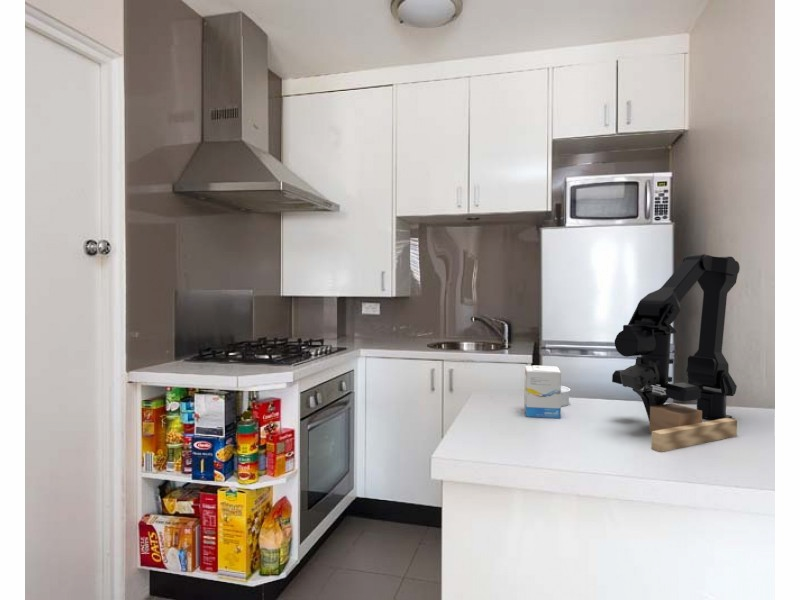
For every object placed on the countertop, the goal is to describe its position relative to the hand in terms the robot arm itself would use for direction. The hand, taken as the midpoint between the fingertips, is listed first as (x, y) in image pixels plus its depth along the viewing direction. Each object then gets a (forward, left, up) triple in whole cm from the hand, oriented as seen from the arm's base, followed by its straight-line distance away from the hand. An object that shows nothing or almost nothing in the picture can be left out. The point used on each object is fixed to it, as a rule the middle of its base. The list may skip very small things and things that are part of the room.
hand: (651, 421), depth 110 cm
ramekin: (+4, -28, -2) cm, 28 cm away
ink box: (+14, -21, -2) cm, 25 cm away
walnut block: (0, +6, -2) cm, 6 cm away
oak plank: (0, +10, -2) cm, 10 cm away
